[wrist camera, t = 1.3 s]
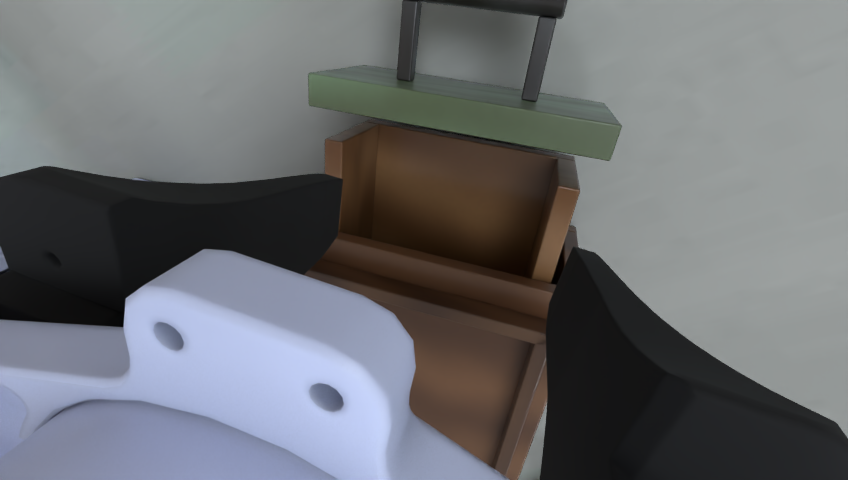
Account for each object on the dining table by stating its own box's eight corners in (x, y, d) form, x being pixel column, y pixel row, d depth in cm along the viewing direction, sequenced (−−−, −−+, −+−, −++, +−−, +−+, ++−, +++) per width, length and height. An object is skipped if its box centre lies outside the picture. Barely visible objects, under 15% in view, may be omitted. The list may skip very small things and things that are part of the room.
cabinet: (355, 178, 23) (287, 226, 17) (576, 226, 21) (585, 300, 15) (347, 362, 30) (297, 442, 24) (514, 414, 28) (504, 517, 22)
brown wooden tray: (309, 433, 24) (299, 448, 23) (304, 254, 18) (292, 265, 17) (493, 499, 21) (491, 518, 21) (554, 320, 16) (554, 336, 15)
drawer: (368, -40, 18) (305, -66, 13) (641, -11, 16) (675, -31, 11) (353, 291, 26) (312, 344, 21) (530, 340, 24) (525, 409, 19)
